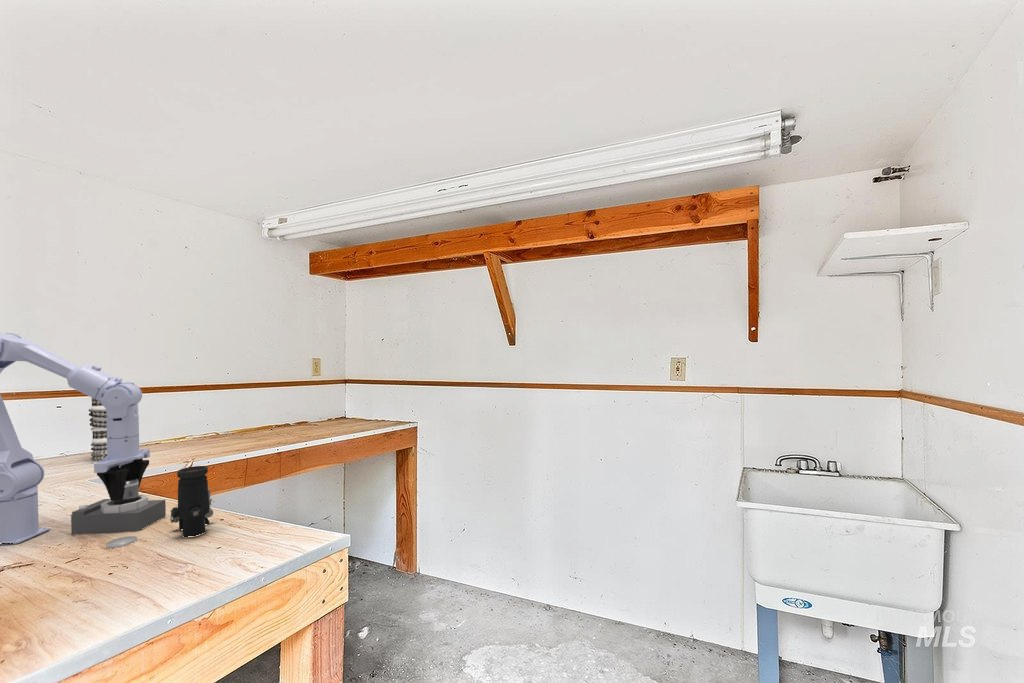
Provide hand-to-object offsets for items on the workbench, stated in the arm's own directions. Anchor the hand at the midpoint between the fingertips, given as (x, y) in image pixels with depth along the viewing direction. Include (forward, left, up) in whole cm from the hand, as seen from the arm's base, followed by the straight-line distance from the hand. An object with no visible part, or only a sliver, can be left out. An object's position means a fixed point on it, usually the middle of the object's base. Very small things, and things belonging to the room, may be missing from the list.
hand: (124, 496), depth 111 cm
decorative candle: (-56, +71, -7) cm, 91 cm away
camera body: (0, 0, -6) cm, 6 cm away
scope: (+19, -7, -7) cm, 21 cm away
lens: (0, 0, -2) cm, 2 cm away
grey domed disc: (+7, -11, -7) cm, 15 cm away
